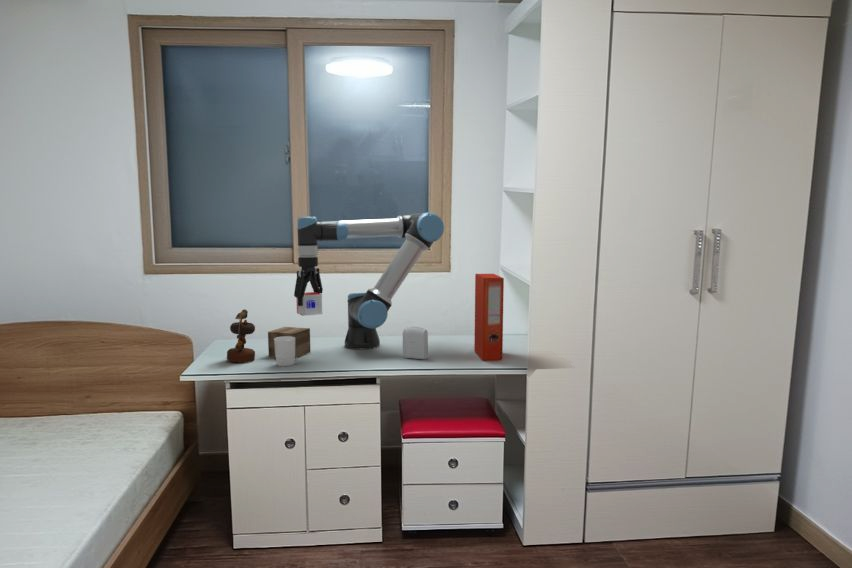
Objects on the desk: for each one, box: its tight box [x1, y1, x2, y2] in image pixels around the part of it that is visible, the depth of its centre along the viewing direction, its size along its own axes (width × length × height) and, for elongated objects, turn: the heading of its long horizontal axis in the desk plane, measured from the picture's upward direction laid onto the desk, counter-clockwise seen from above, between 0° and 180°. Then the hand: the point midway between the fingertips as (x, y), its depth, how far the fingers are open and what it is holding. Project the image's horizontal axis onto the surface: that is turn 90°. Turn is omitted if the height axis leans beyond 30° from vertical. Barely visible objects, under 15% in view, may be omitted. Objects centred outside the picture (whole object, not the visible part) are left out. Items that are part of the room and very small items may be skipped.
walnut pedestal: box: [267, 326, 311, 359], centre depth 258 cm, size 12×12×10 cm
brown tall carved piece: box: [226, 308, 256, 363], centre depth 249 cm, size 15×11×20 cm
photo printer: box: [402, 326, 429, 360], centre depth 250 cm, size 10×4×12 cm, turn 65°
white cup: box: [274, 336, 296, 367], centre depth 242 cm, size 8×8×10 cm
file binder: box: [473, 273, 505, 362], centre depth 252 cm, size 8×17×32 cm, turn 6°
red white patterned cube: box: [295, 291, 323, 317], centre depth 252 cm, size 8×8×8 cm
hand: (309, 311), depth 252 cm, fingers closed on red white patterned cube, 11 cm apart
